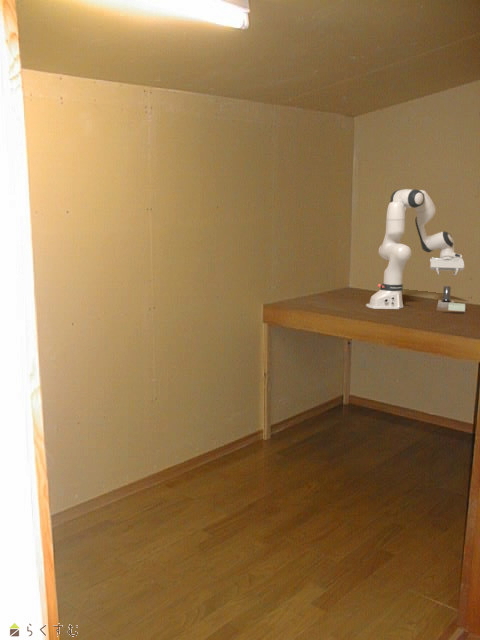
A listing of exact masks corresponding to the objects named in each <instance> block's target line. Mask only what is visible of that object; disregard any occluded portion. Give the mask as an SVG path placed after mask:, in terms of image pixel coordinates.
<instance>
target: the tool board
mask: <svg viewBox="0 0 480 640" xmlns="http://www.w3.org/2000/svg"><path fill="white" fill-rule="evenodd" d="M436 311H448V312H443V314H456V315H466V313H467V312H466V311H467V310H466V308H465V311H453V310H448V307H438V303H437V304H436Z"/></svg>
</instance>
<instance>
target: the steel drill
mask: <svg viewBox="0 0 480 640" xmlns="http://www.w3.org/2000/svg"><path fill="white" fill-rule="evenodd" d="M451 289H452V288H451V286H450V285H444V286H443V292H442V300H443V302H450V300H451V292H452V291H451Z"/></svg>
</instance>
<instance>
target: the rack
mask: <svg viewBox="0 0 480 640" xmlns="http://www.w3.org/2000/svg"><path fill="white" fill-rule="evenodd" d="M465 309H466V303H460V302H459V303H458V302H457V303H456V302H454V303H449V306H448V310H453V311H452V312H461V311H465Z"/></svg>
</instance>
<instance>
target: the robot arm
mask: <svg viewBox="0 0 480 640" xmlns="http://www.w3.org/2000/svg"><path fill="white" fill-rule="evenodd" d="M434 203H435V202H434V201H433V200H432V198H431V197H430V195H429V194H428V193H427V191H426V190H424V189H415V188H414V189H410V188H405V189H404V188H403V189H398V190H394V191H393V192H392V193H391V196H390V202H389V203H388V206H387V210H386V218H385V219H386V220H385V221H386V222H385V233H384V238H383V241H382V244H381V245H380V246H379V248H378V255H379V257H380V258H382V259H384V260H385V261H388V263H387V267H386V268H385V270H384V271H383V283H382V284H381V283H378V284H377V287H378V288H380V289H379V290H378V291H377V292H375V293H374V294H373V295H371V297H370V298H369V299H370V300H369V303H366V304H365V307H367V308H369V309H374V310H400V309H402V308H404V304H403V289H404V287H403V286H404V284H403V278H404V277H403V275H404V270H405V266H406V263H407V262H408V261H409V260H410V258H411V256H412V250H411V248H410V247H409V246H408V245H406V244H404V243H401V240H402V237H403V235H404V234H405V232H406V210H407V209H411V208H413V209H414V210H415V212H416V217H415V227H416V231H417V234H418V237H419V241H420V245H421V249H422V250H423V251H424V252H426V253H431V252H434V251H436V250H440V253H439V257H431V258H430V259H429V264H430V266H429V269H430V270H431V271H435V272H436V273H437V276H441V271H444V272H453V276H454V277H457V274H458V273H459V272H463V271H465V262H464V259H463V255H462V254H459V253H456V252H455V251H456V250H455V247H456V246H455V240H453V239H454V238H453V236H452V235H451V234H450V233H449V232H448V231H444V230H443V231H439V232H436V233H434V234H431V235H428V234H427V231H426V228H425V225H426V224H427V223H429V222H430V221H431V220H432V219H433V218H434V216H435V215H436V211H437V210H436V206H435V204H434Z"/></svg>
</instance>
